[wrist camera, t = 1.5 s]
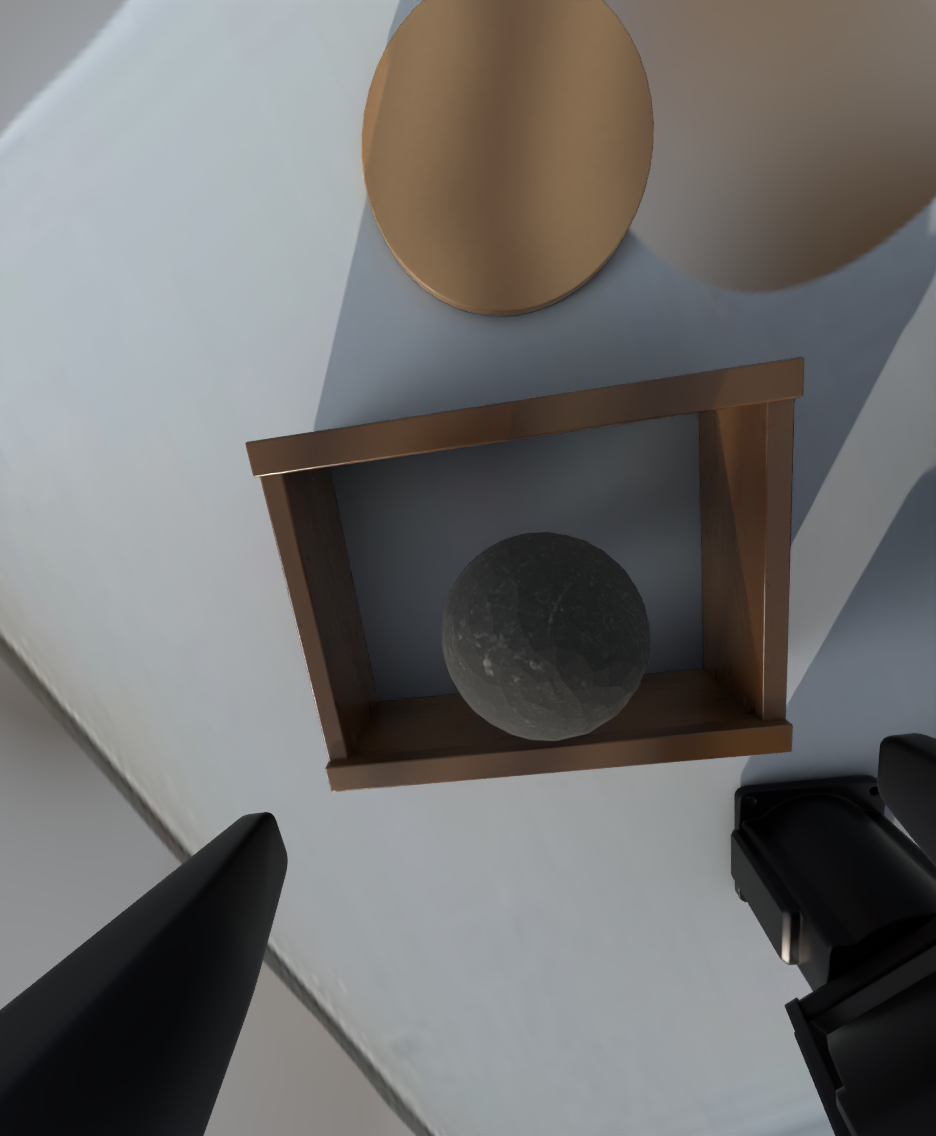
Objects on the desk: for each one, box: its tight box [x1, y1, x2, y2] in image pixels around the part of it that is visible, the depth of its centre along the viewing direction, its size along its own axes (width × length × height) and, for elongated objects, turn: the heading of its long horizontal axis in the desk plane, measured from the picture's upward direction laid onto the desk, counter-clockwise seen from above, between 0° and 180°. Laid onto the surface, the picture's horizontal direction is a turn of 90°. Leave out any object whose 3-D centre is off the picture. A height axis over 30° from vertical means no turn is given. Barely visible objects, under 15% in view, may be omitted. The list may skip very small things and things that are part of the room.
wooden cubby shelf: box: [246, 357, 804, 792], centre depth 17 cm, size 17×13×5 cm
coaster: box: [362, 0, 654, 316], centre depth 16 cm, size 10×10×1 cm
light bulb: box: [442, 532, 650, 741], centre depth 15 cm, size 6×6×10 cm
